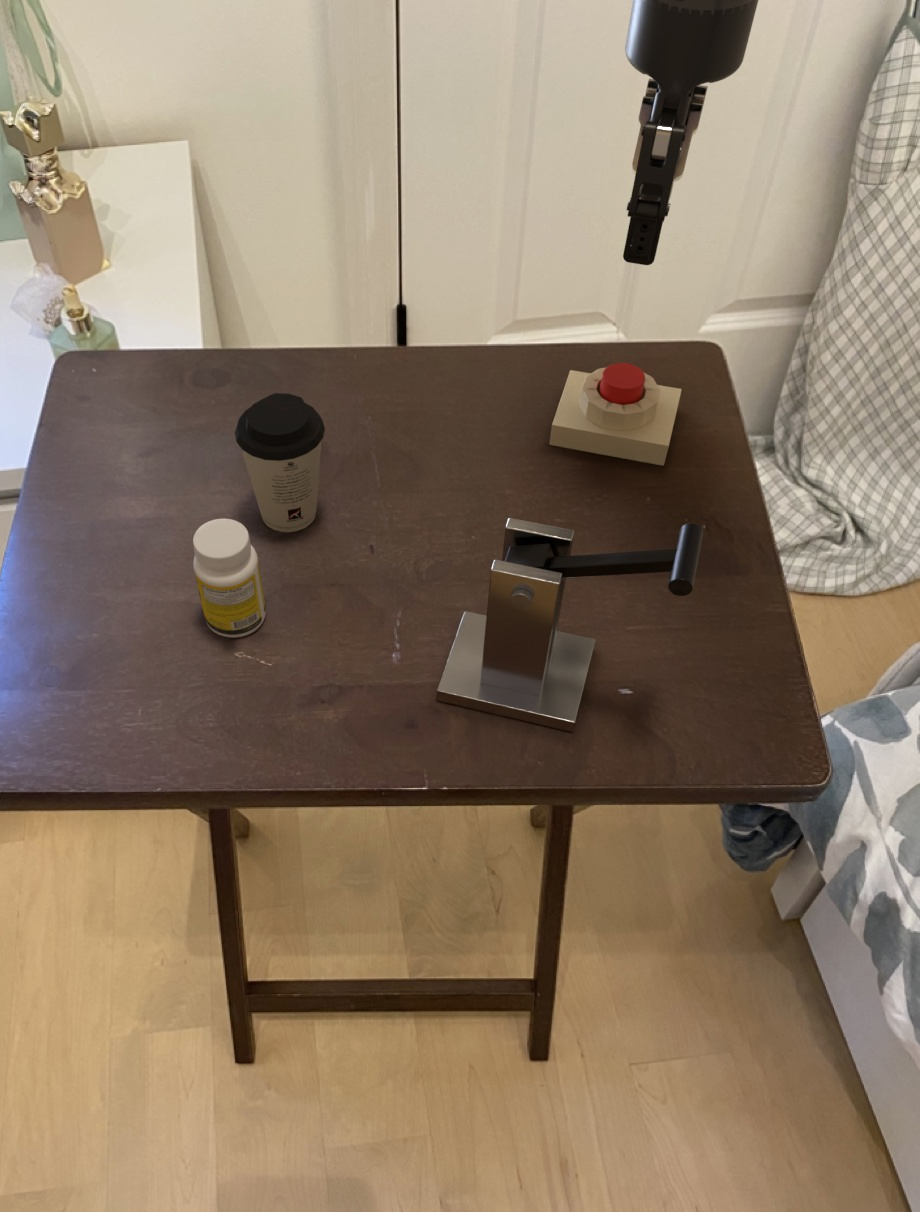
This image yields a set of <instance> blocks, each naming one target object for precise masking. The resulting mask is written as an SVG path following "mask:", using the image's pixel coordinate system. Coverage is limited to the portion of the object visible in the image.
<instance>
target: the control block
mask: <svg viewBox="0 0 920 1212" xmlns="http://www.w3.org/2000/svg"><path fill="white" fill-rule="evenodd" d="M607 367H608V366H606V367H599V368H597V369H596V370H594V371H593V372H591V373H590V372H584V371H579V370H572V369H570V370H569V373H568V375H567V378H566V382H565V384H564V388H563V391H562V393H561V397H560V400H559V403H558V406H557V408H556V412H555V415H554V418H553V421H552V423H551V430H550V437H549V446H553V447H558V448H564V449H570V450H576V451H579V452H580V451H581V452H586V453H592V454H596V455H601V456H607V457H613V458H619V459H625V460H630V461H635V462H641V463H645V464H651V465H657V466H662V467H665V463H666V458H667V454H668V451H669V447H670V443H671V438H672V434H673V429H674V426H675V421H676V416H677V413H678V408H679V403H680V398H681V395H682V391H683V390H682V388H680V387H679V388H677V387H671V386H667V385H661V384H658V383H657V382H656V380H655V379H654V377H653V376H651V375H649V374H647V373H646V372H644V374H645V382H644V387H643V392H642V396H641V398H640V400H639V401H637V402H636V403H634V404H628V405H620V404H615V403H610V402H608V401H606V400H605V399H603V398H602V397H601V395H600V385H601V380H602V374H603V371H604V370H605V368H607Z"/></svg>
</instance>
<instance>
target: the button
mask: <svg viewBox="0 0 920 1212" xmlns="http://www.w3.org/2000/svg"><path fill="white" fill-rule="evenodd" d="M606 367H607V368H606ZM606 367H604V368H605V370H604V371H603V374H602V380H601V385H600V395H601V397H602V398H603V399H605V400H606V401H608V402H610V403H615V404H620V405H628V404H634V403H636V402H637V401H639V400H640V398H641V396H642V392H643V387H644V382H645V374H644V373H645V372H644V371H643V370H642V369H641V368H640V367H639V366H636V365H634V364H631V363H628V362H627V363H625V362H618V363H613V364H612V363H611V364H610V365H608V366H606Z"/></svg>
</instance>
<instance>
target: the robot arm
mask: <svg viewBox="0 0 920 1212" xmlns="http://www.w3.org/2000/svg"><path fill="white" fill-rule="evenodd" d="M758 4H759V0H632V6H631V11H630V17H629V23H628V29H627V35H626V39H625V40H626V41H625V46H624V47H625V48H624V52H625V55H626V56H625V57H626V59H627V60H628V62H629V64H630V65H631V66H632V67H633V68H634V69H635V71H638V72H639V73H640V74H642V75H647V76H648V77H650V78H648V80H647V85H646V89H645V95H643V97H642V100H641V105H640V110H639V114H638V127H639V132H638V137H637V141H636V145H635V149H634V150H635V151H634V153H633V159H632V162H631V166H632V167H631V168H632V172H633V174H634V179H633V180H634V181H633V185H632V190H631V195H630V198H629V201H628V202H627V205H626V211H627V217H629V223H628V227H627V228H628V229H627V233H626V237H625V243H624V248H623V254H622V258H623V260H624V262H626V263H629V264H635V265H641V266H642V265H643V266H650V265H652V264H654V262H655V258H656V256H657V252H658V251H657V250H658V246H659V242H660V238H661V237H660V236H661V232H662V228H663V224H664V223H665V219H666V217H668V215H669V212H670V208H671V203H670V200H671V196H672V192H673V188H674V183H675V182H678V181H679V180H681V179H682V178H683V175H684V172H685V168H686V165H687V159H688V156H689V151H690V146H691V143H692V139H693V137H694V135H696V133H697V132H698V129H699V124H700V121H701V117H702V113H703V109H704V104H705V101H706V96H707V92H708V88H709V86H708V85H704V84H708V83H709V84H713V83H717V82H720V81H723V80H725V79H727V78H729V77H730V76H732V75H734V74H735V73H737V71H738V70H739V69H740V68H741V66H742V63H743V62H744V58H745V55H746V50H747V47H748V43H749V38H750V36H751V31H752V27H753V23H754V19H755V15H756V11H757V8H758Z"/></svg>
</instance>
